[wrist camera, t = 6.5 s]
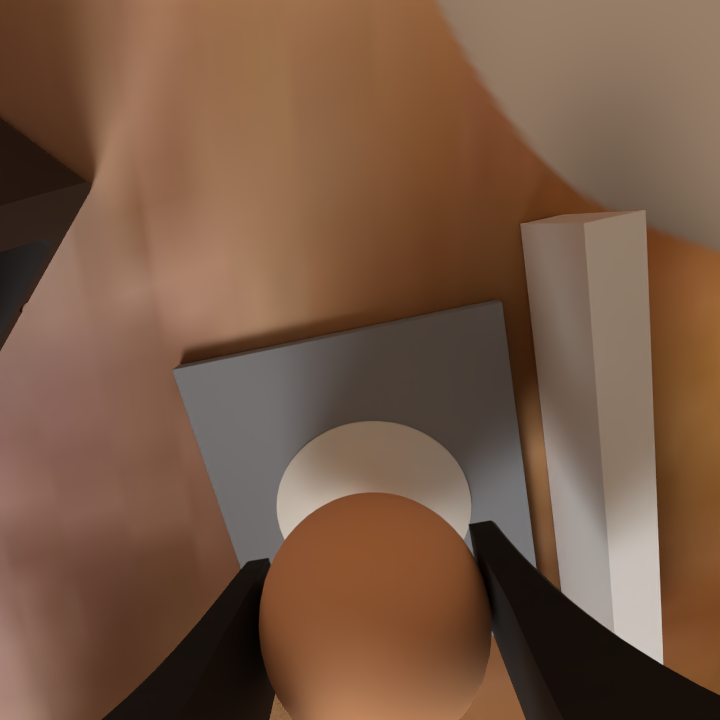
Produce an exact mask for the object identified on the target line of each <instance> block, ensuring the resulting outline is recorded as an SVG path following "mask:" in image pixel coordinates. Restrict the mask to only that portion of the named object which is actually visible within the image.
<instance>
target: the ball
mask: <svg viewBox="0 0 720 720" xmlns="http://www.w3.org/2000/svg"><path fill="white" fill-rule="evenodd" d="M259 636H260V645H261V653H262V657H263V661H264V665H265V668H266V671H267V675H268V678H269V680H270V682H271V685H272V687H273V689H274V691H275V693H276V695H277V697H278V699H279V700H280V702H281V704H282V705H283V707H284V708H285V710H286V711H287V712H288V713H289V715H290V716H291V717H292V718H293V720H460V719H461V717H462V716H463V715H464V714H465V712H466V711H467V710H468V708H469V706H470V705H471V703H472V702H473V700H474V698H475V696H476V694H477V692H478V690H479V688H480V685H481V683H482V681H483V678H484V674H485V671H486V667H487V663H488V659H489V656H490V646H491V636H492V622H491V608H490V602H489V597H488V593H487V589H486V585H485V581H484V578H483V576H482V573H481V571H480V569H479V566H478V564H477V562H476V559H475V557H474V556H473V554H472V553H471V551H470V549H469V548H468V546H467V545H466V543H465V542H464V540H463V539H462V537H461V536H460V535H459V534H458V533H457V532H456V530H455V529H454V528H453V527H452V526H451V525H450V524H449V523H448V522H447V521H445V520H444V519H443V518H442V517H441V516H440V515H438V514H437V513H435V512H434V511H432V510H431V509H429V508H428V507H426V506H424V505H422V504H420V503H418V502H416V501H414V500H412V499H409V498H406V497H403V496H399V495H395V494H390V493H382V492H365V493H357V494H352V495H348V496H344V497H341V498H338V499H335V500H333V501H331V502H329V503H327V504H325V505H323V506H321V507H320V508H318V509H316V510H315V511H314V512H312V513H311V514H309V515H308V516H307V517H306V518H304V519H303V520H302V521H301V522H300V523H299V524H298V525H297V526H296V527H295V528H294V529H293V530H292V532H291V533H290V534H289V535H288V536H287V538H286V539H285V540H284V542H283V544H282V545H281V547H280V548H279V550H278V552H277V553H276V555H275V557H274V559H273V561H272V564H271V566H270V569H269V571H268V574H267V576H266V579H265V583H264V587H263V591H262V596H261V601H260V611H259Z"/></svg>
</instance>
